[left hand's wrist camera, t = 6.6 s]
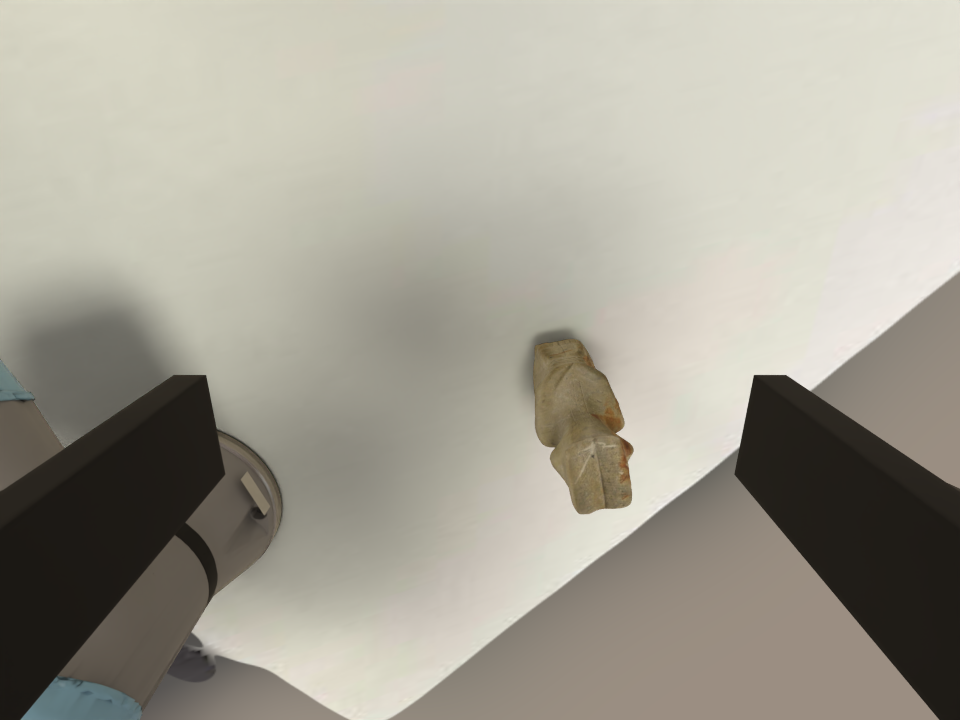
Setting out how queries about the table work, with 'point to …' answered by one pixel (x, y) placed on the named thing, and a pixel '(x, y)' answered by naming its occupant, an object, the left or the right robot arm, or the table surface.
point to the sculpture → (581, 426)
